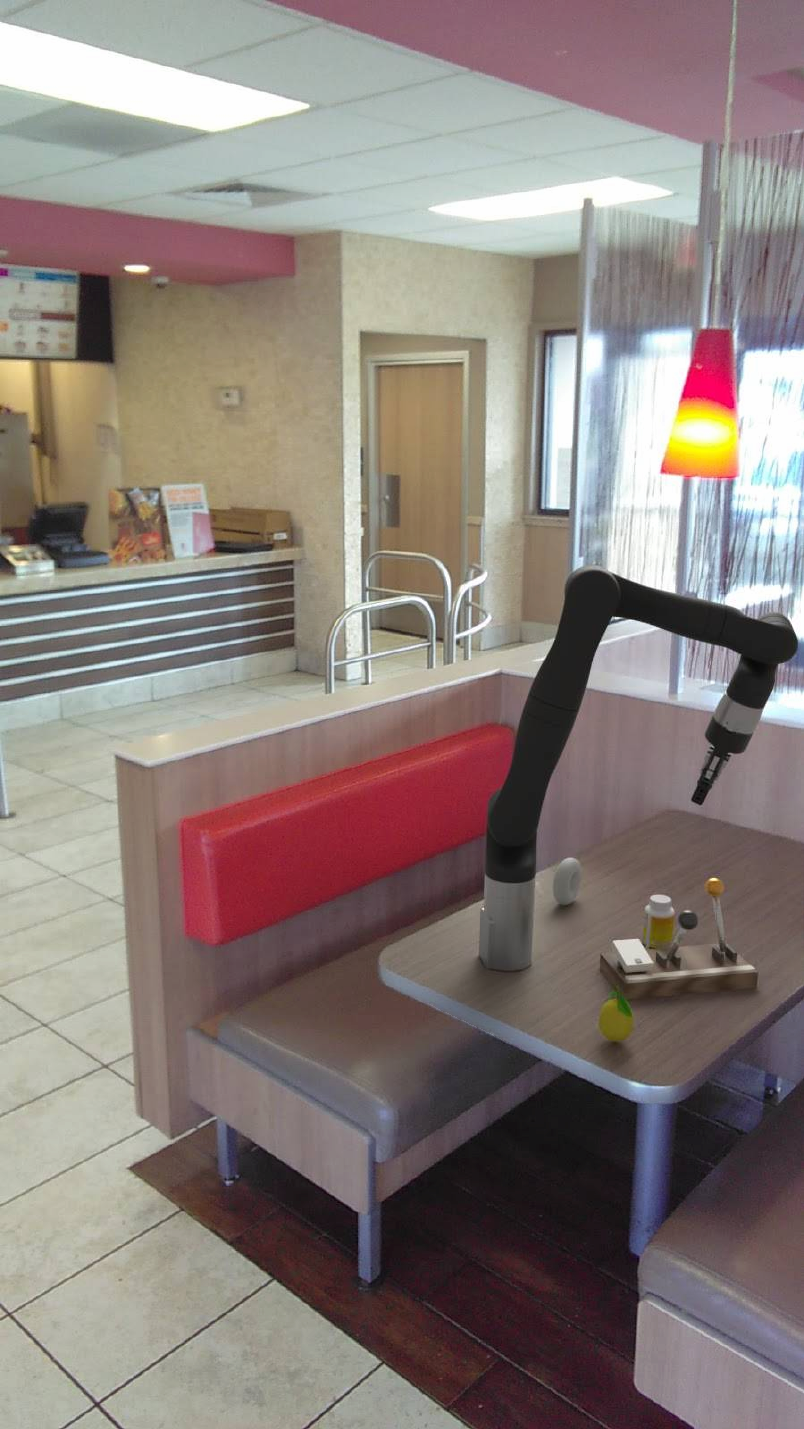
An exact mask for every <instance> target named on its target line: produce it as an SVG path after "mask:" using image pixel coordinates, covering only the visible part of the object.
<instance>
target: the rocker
mask: <svg viewBox="0 0 804 1429" xmlns="http://www.w3.org/2000/svg"><path fill="white" fill-rule="evenodd" d="M611 950H612V952H614V953H615V955H616V957H617V959H618V960H619V962H620V964H621V965H622V967H623V969H624V971H625V972H626V973H628V972H640V971H651V970H652V969H653V964H654V963H653V961H652V960H651V958H650V956H649V955H648V953H647V952H646V949H645V948H644V947H643V942H641V940H640V939H639V938H631V939H630V938H629V939H620V940H618V939H617V940H612V943H611Z"/></svg>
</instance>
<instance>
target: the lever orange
mask: <svg viewBox="0 0 804 1429" xmlns="http://www.w3.org/2000/svg"><path fill="white" fill-rule="evenodd" d="M724 888H725V886H724V883H723V881H722V880H720V879H719V878H717V877H712V878H711V877H710V878H709V879H708V880H707V881H705V884H704V890H705V892H706V894H707V895H709V896H710V897H712V904H713V911H714V918H715V924H716V931H717V939H718V944H719V947H720V950H721V951H722V952H727V948H726V943H727V942H726V934H725V929H724V927H725V926H724V922H723V915H722V907H721V902H720V901H721V900H720V896H721V895H722V894H723V892H724Z"/></svg>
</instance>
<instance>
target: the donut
mask: <svg viewBox="0 0 804 1429" xmlns="http://www.w3.org/2000/svg"><path fill="white" fill-rule="evenodd" d="M582 874H583V871H582V865H581V863H580V862H579V861H578V859H576V858H574V857H567V858H564V859H563V860H562V861H561V862H560V863H559V865H558V867H557V869H556V871H555V873H554V878H553V883H552V893H553V897H554V899H555V901H556V902H557V904H560V905H562V906H567V905H570V904H571V903H573V902H574V900H575V899H576V898H577V895H578V894H579V892H580V889H581V884H582V878H583V876H582Z"/></svg>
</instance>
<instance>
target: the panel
mask: <svg viewBox="0 0 804 1429" xmlns="http://www.w3.org/2000/svg"><path fill="white" fill-rule="evenodd" d="M726 948H727V952H722V951H721V950H720V947H719V943H709V944H699V945H698V944H697V945H685V946H679V948H678V950H677V952H676V954H675V956H674V958H673V960H672V961H667V958H666V956H667V954H668V952H669V950H670V948H659V949H647V950H646V949H645V950H646V952H647V953H648V955H649V956H650V958H651V960H652V961H653V963H654V964H653V969H652V970H651V971H640V972H628V973H626V972H625V971H624V969H623V967H622V965H621V964H620V962H619V960H618V959H617V957H616V955H615V953H614V952H613V951H611V952H604V953H603V952H600V958H599V970H600V971H601V970H602V971H601V973H603V974H604V977H606V978H607V979H608V981H609V982H610V983H611V984H612V985H613V986H614V988H615V990H617V986H619V992H620V994H621V995H623V996H624V997H625V998H626V1000H627V1001H628V1000H637V999H648V998H649V999H651V998H658V997H670V996H671V997H672V996H678V995H679V996H681V995H682V996H683V995H693V994H703V993H715V992H724V991H735V990H744V989H745V990H746V989H756V988H758V979H759V978H758V977H759V972H758V970H756V968H755V967H754V966H753V965H752V964H750V963H749V962H747V961H746V960H745V958H743V957H742V956H741V955H740V954H739V953H738V952H737V951H736V950H735V949H734V948H733V947H732V946H731V945H729V944H728V943H727V942H726Z"/></svg>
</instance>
